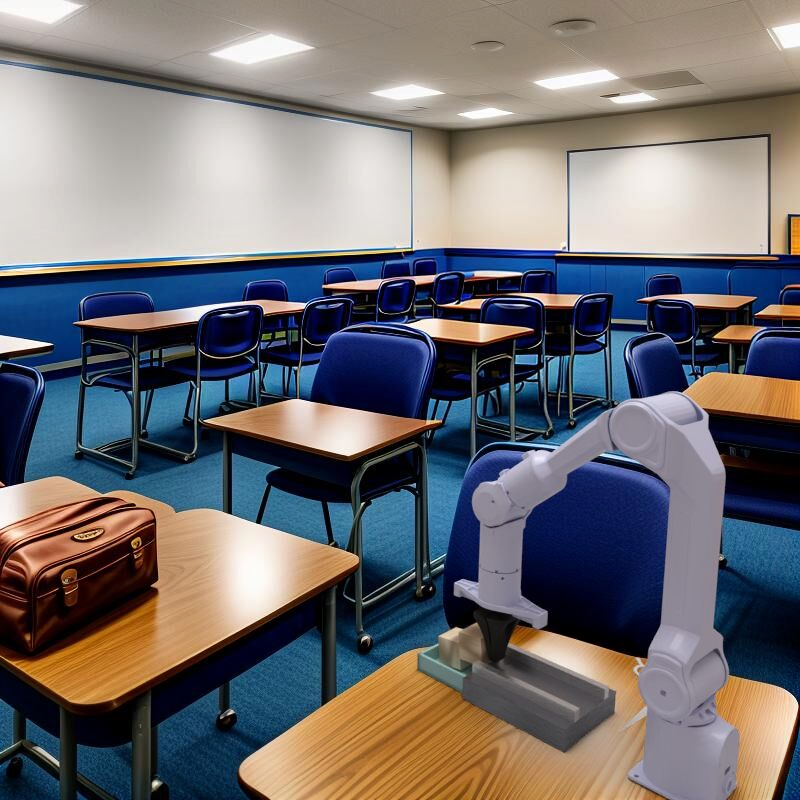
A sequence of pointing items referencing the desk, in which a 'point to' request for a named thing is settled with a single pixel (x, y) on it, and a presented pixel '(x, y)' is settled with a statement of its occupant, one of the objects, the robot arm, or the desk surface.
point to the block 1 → (451, 649)
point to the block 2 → (473, 645)
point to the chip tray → (441, 668)
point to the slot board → (539, 697)
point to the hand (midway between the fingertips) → (496, 658)
